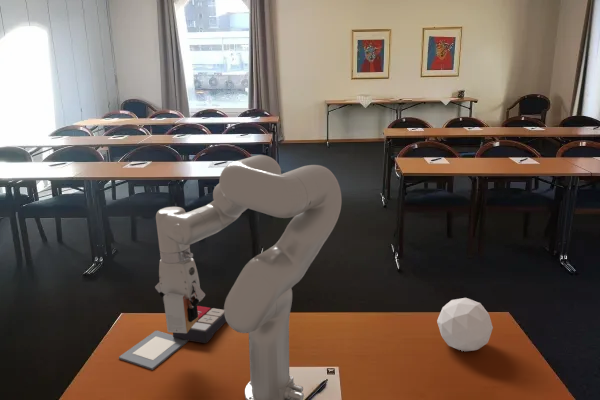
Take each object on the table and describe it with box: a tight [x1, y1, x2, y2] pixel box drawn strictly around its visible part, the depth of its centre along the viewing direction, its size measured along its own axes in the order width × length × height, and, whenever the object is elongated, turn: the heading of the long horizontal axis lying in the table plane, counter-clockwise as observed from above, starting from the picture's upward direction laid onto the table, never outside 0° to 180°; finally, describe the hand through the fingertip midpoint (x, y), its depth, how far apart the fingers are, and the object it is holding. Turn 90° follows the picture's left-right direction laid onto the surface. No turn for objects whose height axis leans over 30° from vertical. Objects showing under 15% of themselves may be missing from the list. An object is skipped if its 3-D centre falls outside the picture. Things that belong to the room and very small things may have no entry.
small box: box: [162, 293, 198, 334], centre depth 127 cm, size 8×6×10 cm
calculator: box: [172, 305, 227, 344], centre depth 145 cm, size 11×4×15 cm
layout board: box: [118, 330, 189, 371], centre depth 136 cm, size 12×15×1 cm
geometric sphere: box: [436, 297, 494, 352], centre depth 134 cm, size 14×15×15 cm
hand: (182, 316), depth 128 cm, fingers closed on small box, 6 cm apart
